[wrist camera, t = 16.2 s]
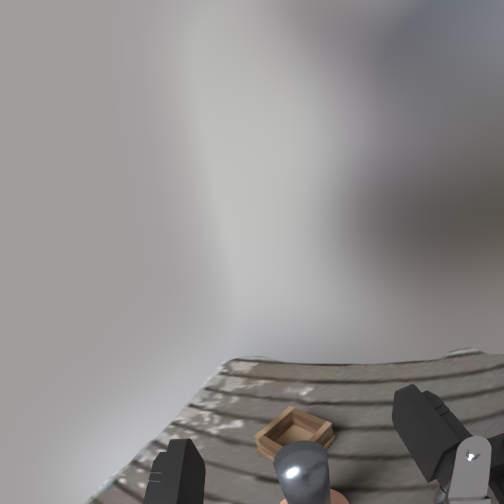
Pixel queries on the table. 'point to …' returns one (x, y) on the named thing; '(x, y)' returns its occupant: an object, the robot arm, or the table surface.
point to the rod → (303, 473)
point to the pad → (337, 499)
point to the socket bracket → (293, 432)
